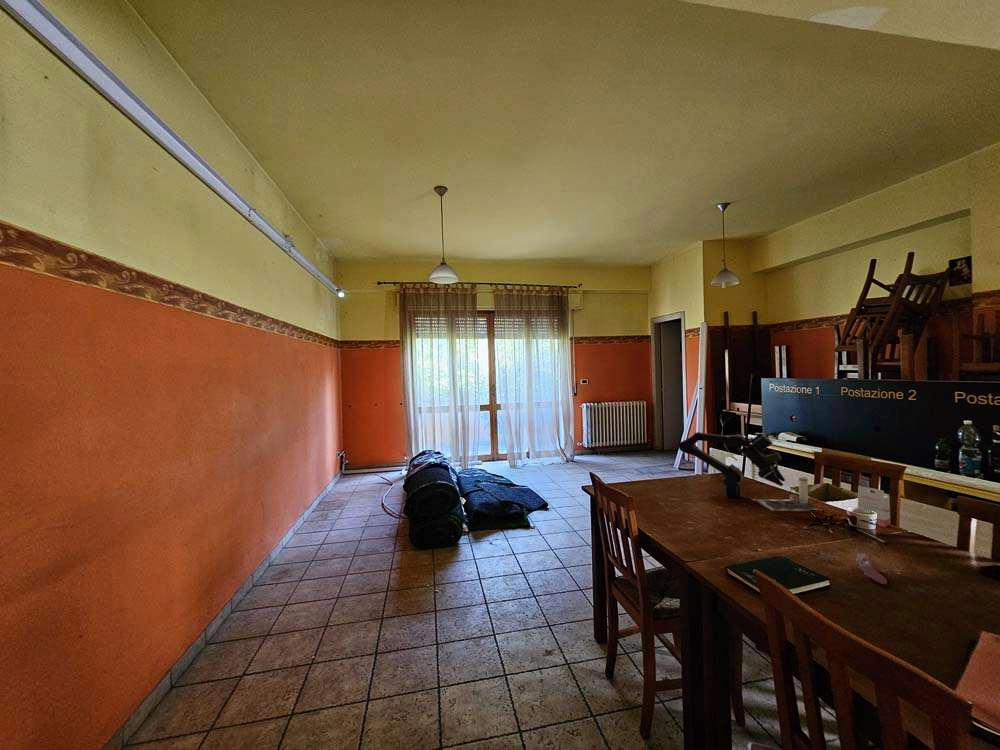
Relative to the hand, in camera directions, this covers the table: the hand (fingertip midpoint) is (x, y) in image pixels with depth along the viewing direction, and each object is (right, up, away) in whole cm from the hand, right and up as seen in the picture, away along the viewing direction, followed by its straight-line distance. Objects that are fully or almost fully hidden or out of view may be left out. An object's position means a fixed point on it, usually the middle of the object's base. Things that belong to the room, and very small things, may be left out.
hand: (783, 483), depth 175 cm
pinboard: (0, -10, -1) cm, 10 cm away
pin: (+6, -9, -5) cm, 12 cm away
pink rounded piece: (-18, -12, -59) cm, 63 cm away
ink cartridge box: (+21, -10, -22) cm, 32 cm away
